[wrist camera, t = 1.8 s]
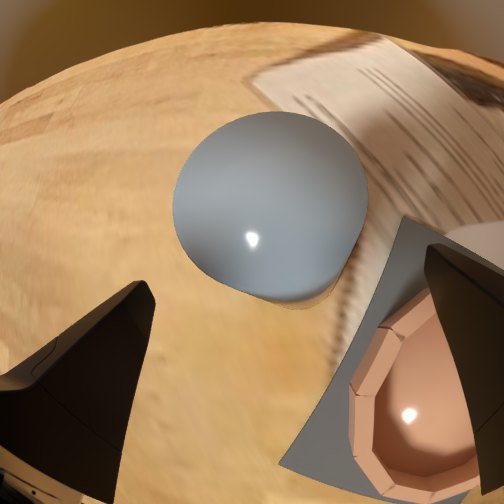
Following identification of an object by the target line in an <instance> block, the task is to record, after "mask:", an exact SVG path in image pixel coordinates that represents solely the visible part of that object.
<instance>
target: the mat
mask: <svg viewBox="0 0 504 504" xmlns="http://www.w3.org/2000/svg"><path fill="white" fill-rule="evenodd" d="M433 243H441V244H443V245H445V246H447V247H449V248H451V249H453V250H455V251H457V252H459V253H461V254H463V255H465V256H467V257H469V258H471V259H473V260H475V261H477V262H479V263H481V264H483V265H484V266H486V267H488V268H490V269H492V270H494V271H496V272H497V273H499V274H501V275H503V276H504V270H502V269H501V268H499V267H497V266H496V265H494V264H493V263H491V262H489V261H487V260H486V259H484V258H482V257H481V256H479V255H477V254H476V253H474V252H472V251H470V250H468V249H467V248H465V247H463V246H461V245H459V244H458V243H456V242H454V241H452V240H450V239H448V238H446V237H445V236H443V235H441V234H439V233H437V232H435V231H433V230H431V229H429V228H427V227H425V226H423V225H421V224H419V223H417V222H415V221H413V220H411V219H409V218H407V217H405V216H404V217H403V218H402V221H401V224H400V227H399V230H398V233H397V236H396V238H395V241H394V244H393V247H392V250H391V252H390V255H389V258H388V260H387V263H386V266H385V268H384V271H383V273H382V276H381V278H380V281H379V283H378V285H377V288H376V290H375V293H374V295H373V297H372V300H371V302H370V304H369V306H368V309H367V311H366V313H365V315H364V317H363V320H362V322H361V324H360V326H359V328H358V330H357V332H356V334H355V336H354V338H353V340H352V342H351V344H350V346H349V348H348V350H347V352H346V354H345V356H344V358H343V360H342V362H341V364H340V366H339V368H338V369H337V371H336V373H335V375H334V377H333V378H332V380H331V382H330V384H329V386H328V387H327V389H326V391H325V393H324V394H323V396H322V398H321V399H320V401H319V403H318V404H317V406H316V408H315V409H314V411H313V412H312V414H311V416H310V417H309V419H308V420H307V422H306V424H305V425H304V427H303V428H302V430H301V431H300V433H299V434H298V436H297V437H296V439H295V440H294V442H293V443H292V445H291V446H290V448H289V449H288V450H287V452H286V453H285V455H284V456H283V457H282V459H281V460H280V462H279V464H278V465H280V466H282V467H285V468H287V469H289V470H292V471H294V472H296V473H299V474H301V475H304V476H306V477H309V478H311V479H314V480H317V481H319V482H322V483H325V484H328V485H331V486H334V487H337V488H340V489H343V490H346V491H349V492H353V493H356V494H359V495H363V496H367V497H371V498H374V499H378V500H383V501H387V502H392V503H396V504H419V503H414V502H408V501H403V500H398V499H394V498H389V497H385V496H382V494H381V495H380V493H379V492H378V491H377V489H376V488H375V487H374V485H373V484H372V483H371V481H370V480H369V478H368V477H367V476H366V474H365V473H364V472H363V470H362V469H361V467H360V466H359V465H358V463H357V462H356V460H355V459H354V457H353V453H352V449H351V445H350V440H349V436H348V434H349V384H351V383H350V380H351V378H352V377H353V375H354V373H355V371H356V369H357V367H358V365H359V364H360V362H361V360H362V358H363V356H364V354H365V352H366V350H367V348H368V346H369V344H370V342H371V340H372V338H373V335H374V333H375V331H376V329H377V328H380V327H379V325H380V324H382V323H383V322H384V321H385V320H387V319H388V318H389V317H391V316H392V315H393V314H394V313H396V312H397V311H398V310H399V309H400V308H402V307H403V306H404V305H405V304H407V303H408V302H409V301H410V300H411V299H412V298H414V297H415V296H416V295H417V294H418V293H419V292H421V291H422V290H424V289H426V288H429V287H428V284H427V280H426V277H425V274H424V262H425V255H426V248H427V246H428V245H429V244H433ZM470 490H471V489H470ZM470 490H467V491H465V492H462V493H460V494H457V495H454V496H452V497H449V498H446V499H443V500H440V501H437V502H434V503H431V504H460V503H461V502H462V500H463V499H464V498H465V497H466V495H467V494H468V493H469V492H470Z"/></svg>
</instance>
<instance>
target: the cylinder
mask: <svg viewBox="0 0 504 504" xmlns="http://www.w3.org/2000/svg"><path fill="white" fill-rule="evenodd" d="M367 208H368V186H367V179H366V175H365V172H364V169H363V166H362V164H361V162H360V160H359V158H358V156H357V154H356V153H355V151H354V150H353V148H352V147H351V146H350V144H349V143H348V142H347V141H346V140H345V139H344V138H343V137H342V136H341V135H340V134H339V133H337V132H336V131H335V130H334V129H332V128H331V127H329V126H328V125H326V124H324V123H322V122H320V121H318V120H316V119H313V118H311V117H308V116H305V115H301V114H296V113H290V112H263V113H257V114H252V115H248V116H245V117H242V118H239V119H236V120H234V121H232V122H230V123H227V124H226V125H224V126H222V127H220V128H219V129H217V130H216V131H214V132H213V133H212V134H210V135H209V136H208V137H207V138H206V139H204V140H203V141H202V142H201V143H200V144H199V145H198V146H197V148H196V149H195V150H194V151H193V152H192V154H191V155H190V156H189V158H188V159H187V161H186V163H185V164H184V166H183V168H182V170H181V172H180V175H179V177H178V180H177V183H176V187H175V190H174V197H173V220H174V226H175V230H176V233H177V236H178V239H179V241H180V243H181V245H182V247H183V249H184V250H185V252H186V254H187V255H188V257H189V258H190V259H191V260H192V261H193V263H194V264H195V265H196V266H197V267H198V268H199V269H201V270H202V271H203V272H204V273H205V274H206V275H208V276H210V277H211V278H213V279H214V280H216V281H218V282H220V283H222V284H225V285H227V286H229V287H232V288H234V289H237V290H239V291H242V292H244V293H247V294H249V295H252V296H255V297H257V298H260V299H262V300H265V301H268V302H270V303H273V304H275V305H278V306H281V307H283V308H287V309H291V310H303V309H308V308H311V307H314V306H316V305H318V304H319V303H321V302H322V301H323V300H325V299H326V297H327V296H328V295H329V294H330V293H331V291H332V289H333V288H334V286H335V284H336V282H337V280H338V278H339V276H340V274H341V272H342V270H343V268H344V266H345V264H346V262H347V260H348V258H349V256H350V254H351V252H352V249H353V247H354V245H355V243H356V241H357V239H358V237H359V234H360V232H361V230H362V228H363V225H364V221H365V218H366V214H367Z"/></svg>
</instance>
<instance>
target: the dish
mask: <svg viewBox="0 0 504 504" xmlns="http://www.w3.org/2000/svg"><path fill="white" fill-rule="evenodd" d="M379 327H380V328H377V329H376V331H375V333H374V335H373V338H372V340H371V342H370V344H369V346H368V348H367V350H366V352H365V354H364V356H363V358H362V360H361V362H360V364H359V365H358V367H357V369H356V371H355V373H354V375H353V377H352V378H351V380H350V383H351V384H349V434H348V436H349V440H350V445H351V449H352V453H353V457H354V459H355V460H356V462H357V463H358V465H359V466H360V467H361V469H362V470H363V472H364V473H365V474H366V476H367V477H368V478H369V480H370V481H371V483H372V484H373V485H374V487H375V488H376V489H377V491H378V492H379V493H380V495H381V494H382V496H385V497H389V498H394V499H398V500H403V501H408V502H414V503H419V504H431V503H434V502H437V501H440V500H443V499H446V498H449V497H452V496H454V495H457V494H460V493H462V492H465V491H467V490H470V489H472V488H475V487H476V485H477V486H478V485H479V484H480V475H479V467H478V460H477V453H476V447H475V442H474V434H473V431H472V426H471V421H470V417H469V412H468V408H467V404H466V400H465V397H464V393H463V389H462V386H461V382H460V379H459V376H458V372H457V369H456V366H455V363H454V360H453V357H452V354H451V351H450V348H449V345H448V342H447V340H446V337H445V334H444V332H443V329H442V326H441V324H440V321H439V318H438V316H437V313H436V310H435V306H434V303H433V300H432V296H431V293H430V290H429V288H426V289H424V290H422V291H421V292H419V293H418V294H417V295H416V296H415V297H414V298H412V299H411V300H410V301H409V302H408V303H407V304H405V305H404V306H403V307H402V308H400V309H399V310H398V311H397V312H396V313H394V314H393V315H392V316H391V317H389V318H388V319H387V320H385V321H384V322H383V323H382V324H380V325H379Z"/></svg>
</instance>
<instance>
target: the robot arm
mask: <svg viewBox="0 0 504 504" xmlns="http://www.w3.org/2000/svg"><path fill="white" fill-rule="evenodd" d="M424 274H425V277H426V280H427V284H428V287H429V290H430V293H431V296H432V300H433V303H434V306H435V310H436V313H437V316H438V318H439V321H440V324H441V326H442V329H443V332H444V334H445V337H446V340H447V342H448V345H449V348H450V351H451V354H452V357H453V360H454V363H455V366H456V369H457V372H458V376H459V379H460V382H461V386H462V389H463V393H464V397H465V400H466V404H467V408H468V412H469V417H470V421H471V426H472V431H473V434H474V442H475V447H476V453H477V460H478V467H479V475H480V485H481V494H482V496H483V495H485V494H487V493H489V492H491V491H494V490H496V489H498V488H500V487H502V486H504V276H503V275H501V274H499V273H497V272H496V271H494V270H492V269H490V268H488V267H486V266H484V265H483V264H481V263H479V262H477V261H475V260H473V259H471V258H469V257H467V256H465V255H463V254H461V253H459V252H457V251H455V250H453V249H451V248H449V247H447V246H445V245H443V244H441V243H433V244H429V245H428V246H427V248H426V255H425V262H424ZM155 305H156V303H155V299H154V296H153V294H152V292H151V290H150V288H149V286H148V284H147V283H146V282H145V281H144V280H140V281H133V282H132V283H130V284H129V285H127V286H126V287H124V288H123V289H122V290H120V291H119V292H117V293H116V294H114V295H113V296H112V297H110V298H109V299H107V300H106V301H105V302H103V303H102V304H100V305H99V306H98V307H96V308H95V309H93V310H92V311H91V312H89V313H88V314H87V315H85V316H84V317H83V318H81V319H80V320H78V321H77V322H76V323H74V324H73V325H72V326H70V327H69V328H68V329H66V330H65V331H64V332H62V333H61V334H60V335H59V337H58V336H57V337H56V338H54V339H53V340H52V341H50V342H49V343H48V344H46V345H45V346H44V347H42V348H41V349H40V350H38V351H37V352H35V353H34V354H33V355H31V356H30V357H28V358H27V359H25V360H24V361H23V362H21V363H20V364H18V365H17V366H15V367H14V368H13V369H11V370H10V371H8V372H7V373H5V374H3V375H0V504H84V503H82V499H83V496H84V494H85V495H87V496H89V497H92V498H94V499H96V500H99V501H101V502H104V503H106V504H113V503H114V497H115V490H116V484H117V478H118V472H119V467H120V461H121V456H122V450H123V445H124V440H125V435H126V430H127V426H128V421H129V417H130V413H131V408H132V404H133V400H134V396H135V392H136V388H137V384H138V380H139V376H140V372H141V369H142V365H143V361H144V357H145V354H146V350H147V346H148V342H149V338H150V332H151V327H152V321H153V316H154V311H155Z"/></svg>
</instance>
